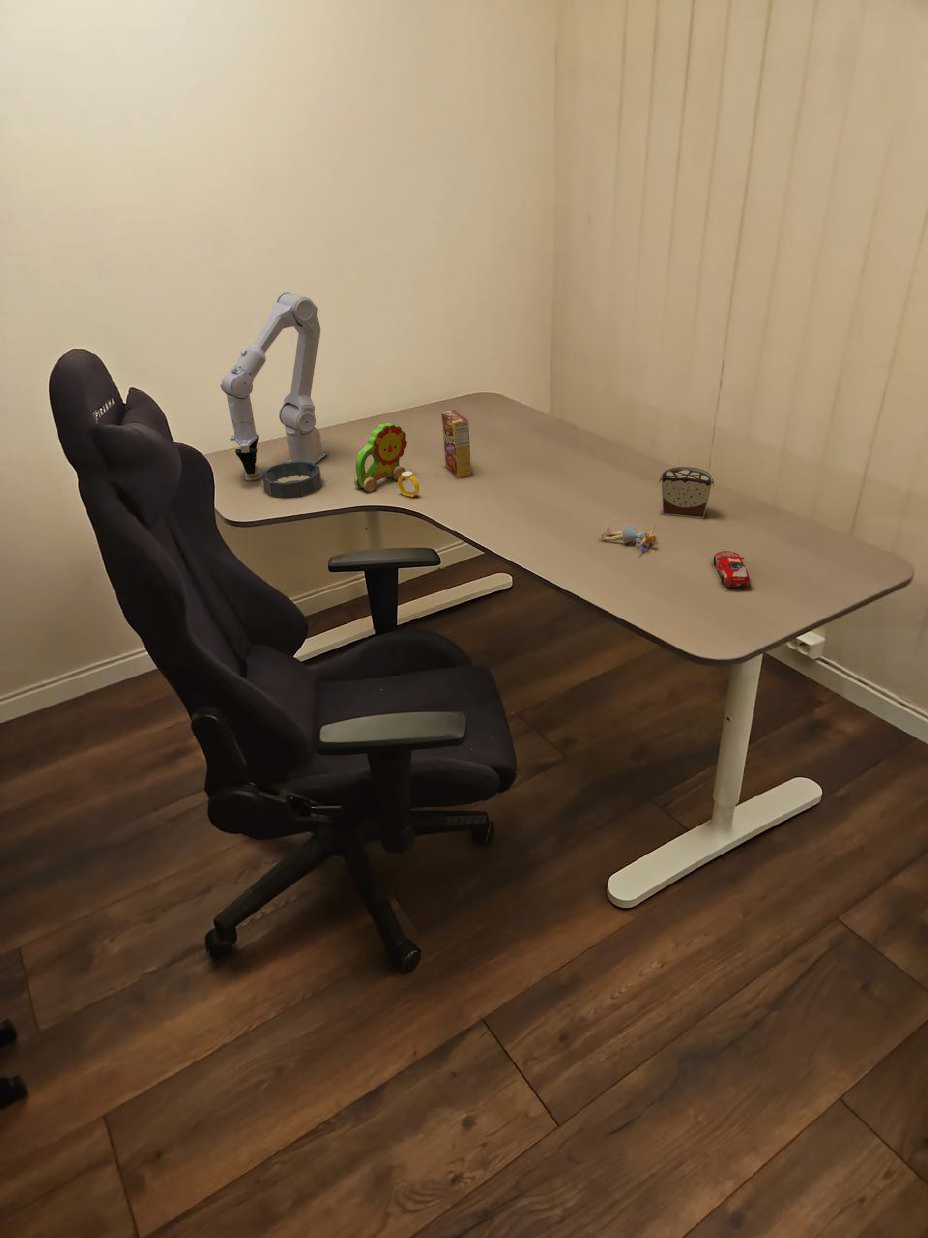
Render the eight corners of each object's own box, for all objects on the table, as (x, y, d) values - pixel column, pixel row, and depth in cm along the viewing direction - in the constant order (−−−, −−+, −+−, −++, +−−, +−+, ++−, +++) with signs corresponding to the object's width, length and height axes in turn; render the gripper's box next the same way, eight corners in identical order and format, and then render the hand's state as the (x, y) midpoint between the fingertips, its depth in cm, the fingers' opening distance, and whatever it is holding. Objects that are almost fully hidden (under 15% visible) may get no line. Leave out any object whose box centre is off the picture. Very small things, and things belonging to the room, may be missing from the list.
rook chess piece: (257, 481, 235) (252, 453, 230) (242, 480, 235) (236, 452, 231) (264, 475, 238) (259, 446, 234) (248, 474, 239) (243, 446, 235)
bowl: (283, 472, 239) (281, 458, 237) (331, 478, 234) (329, 464, 232) (254, 494, 228) (251, 479, 226) (303, 500, 223) (301, 486, 221)
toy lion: (367, 494, 225) (360, 437, 216) (353, 488, 228) (347, 432, 220) (413, 475, 234) (409, 420, 226) (400, 470, 237) (395, 415, 229)
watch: (422, 496, 222) (420, 474, 219) (415, 500, 220) (413, 478, 217) (404, 491, 225) (402, 469, 222) (396, 495, 224) (394, 473, 220)
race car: (711, 559, 188) (713, 543, 186) (737, 559, 188) (739, 542, 186) (723, 590, 177) (725, 573, 175) (750, 590, 177) (753, 573, 175)
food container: (713, 508, 210) (717, 468, 204) (710, 519, 205) (715, 478, 199) (660, 502, 213) (663, 463, 208) (656, 513, 208) (659, 473, 203)
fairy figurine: (614, 513, 201) (665, 518, 195) (615, 532, 204) (665, 537, 197) (593, 533, 193) (645, 539, 187) (594, 553, 195) (645, 559, 189)
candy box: (443, 466, 238) (440, 411, 230) (458, 463, 239) (456, 409, 231) (456, 478, 231) (453, 422, 223) (471, 475, 232) (469, 419, 224)
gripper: (229, 411, 234) (238, 459, 241) (225, 430, 222) (234, 480, 229) (255, 409, 235) (264, 457, 242) (253, 427, 223) (262, 477, 230)
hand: (251, 468), depth 236 cm, fingers open, 7 cm apart
